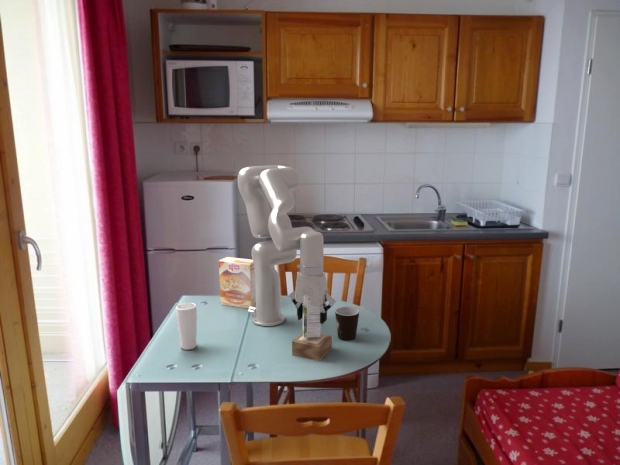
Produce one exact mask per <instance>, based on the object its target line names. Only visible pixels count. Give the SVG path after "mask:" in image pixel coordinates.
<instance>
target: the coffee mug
mask: <svg viewBox="0 0 620 465" xmlns="http://www.w3.org/2000/svg"><path fill="white" fill-rule="evenodd" d="M334 313H335V322H336V323H335V324H336V331H337V332H336V333H337V339H339V341H340V340H341V341H345V342H350V341H351V342H352V341H354V340H355V339H356V337H357V331H358V325H359V324H358V323H359V317H360V310H359V309H358V308H356V307H353V306H340V307H337V308H335V310H334Z"/></svg>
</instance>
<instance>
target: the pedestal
mask: <svg viewBox="0 0 620 465" xmlns="http://www.w3.org/2000/svg"><path fill="white" fill-rule="evenodd" d="M332 348H333V336H332V334H327V333H322V332H321V337H308V338H304V336H303V332H302V333H300V334H299V335H298V336H296V338H294V339H293V340H292V341H291V355H292V356H295V357H301V358H305V359H310V360H313V361H317V362H318V361H321V360H322V359H324V357H325V356H326V355H327V354H328V353H329V352H330V351H331V350H332Z"/></svg>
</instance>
